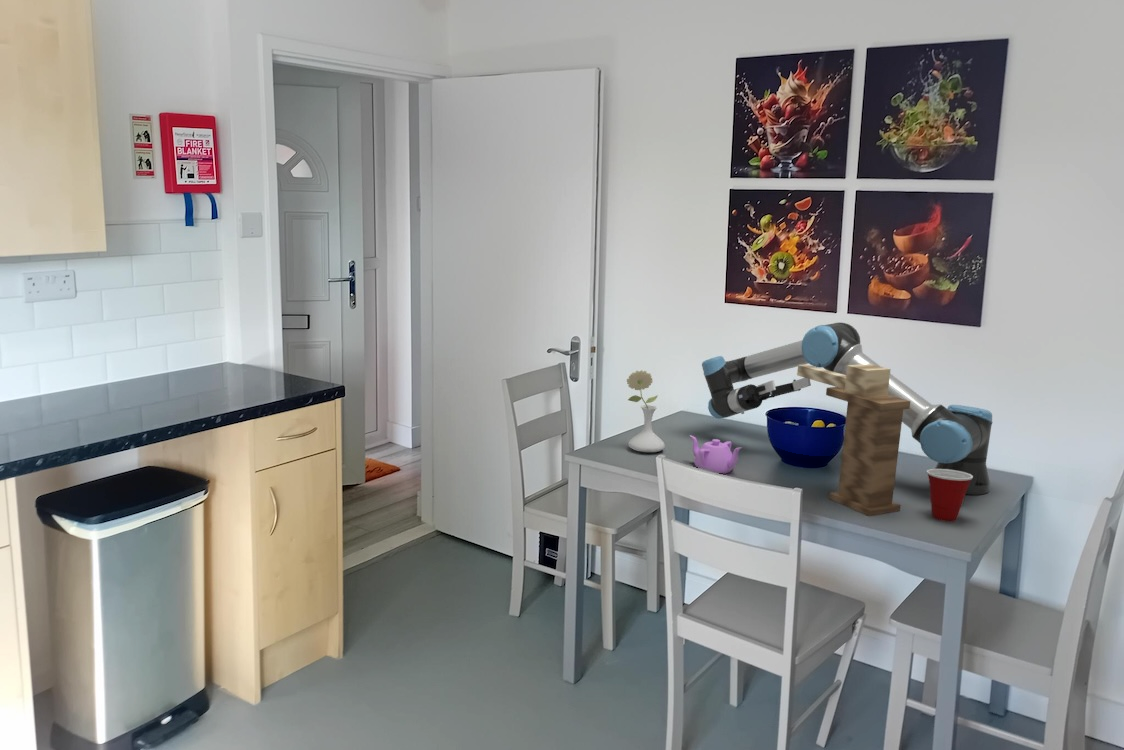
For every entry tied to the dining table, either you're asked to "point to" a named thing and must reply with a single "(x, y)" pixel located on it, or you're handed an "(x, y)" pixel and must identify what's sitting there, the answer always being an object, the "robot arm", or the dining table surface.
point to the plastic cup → (947, 492)
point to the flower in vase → (646, 437)
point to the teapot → (715, 455)
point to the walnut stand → (869, 452)
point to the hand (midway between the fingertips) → (791, 383)
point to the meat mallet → (852, 379)
